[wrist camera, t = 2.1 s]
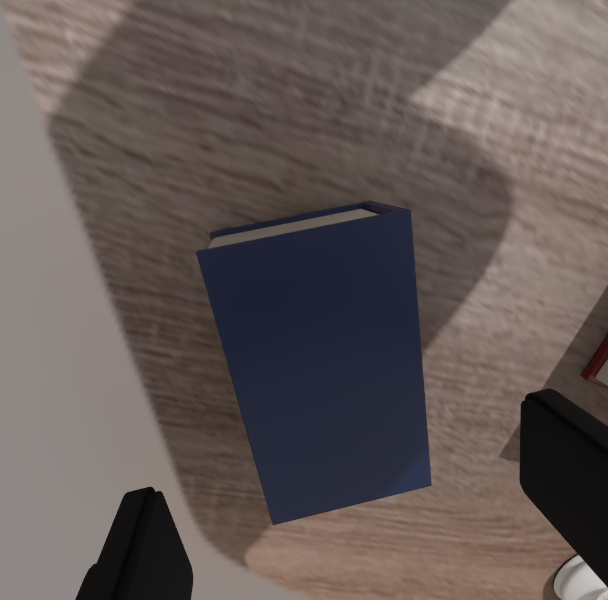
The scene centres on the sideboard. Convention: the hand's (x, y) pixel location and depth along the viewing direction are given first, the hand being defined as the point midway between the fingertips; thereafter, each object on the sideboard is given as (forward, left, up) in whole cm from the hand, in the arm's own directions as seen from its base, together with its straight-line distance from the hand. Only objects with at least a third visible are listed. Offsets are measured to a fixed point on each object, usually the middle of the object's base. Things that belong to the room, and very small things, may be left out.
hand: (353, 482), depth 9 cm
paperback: (0, 0, -8) cm, 8 cm away
